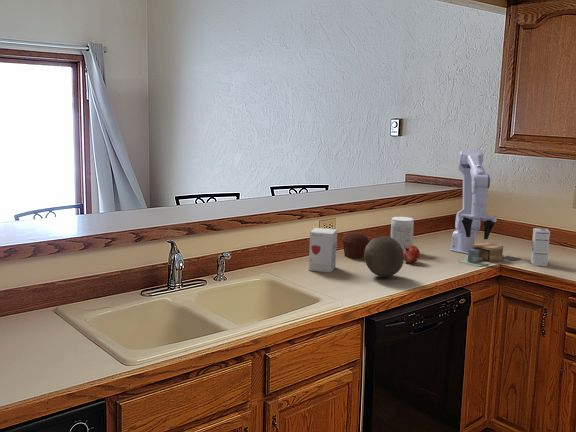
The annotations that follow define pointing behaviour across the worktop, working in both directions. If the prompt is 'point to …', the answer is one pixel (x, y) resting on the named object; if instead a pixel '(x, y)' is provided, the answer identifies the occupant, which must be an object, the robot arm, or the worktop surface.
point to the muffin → (355, 245)
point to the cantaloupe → (384, 256)
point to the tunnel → (491, 250)
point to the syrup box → (540, 247)
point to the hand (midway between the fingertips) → (477, 238)
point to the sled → (478, 255)
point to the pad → (474, 263)
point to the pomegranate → (411, 254)
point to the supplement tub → (402, 230)
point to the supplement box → (322, 249)
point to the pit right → (510, 258)
